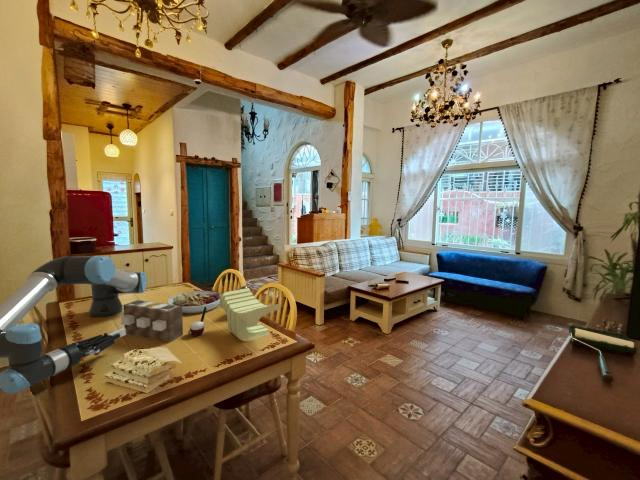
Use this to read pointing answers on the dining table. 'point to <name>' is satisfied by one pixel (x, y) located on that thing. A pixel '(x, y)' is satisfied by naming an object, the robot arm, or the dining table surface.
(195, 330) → the cocoa
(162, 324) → the button
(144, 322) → the middle button
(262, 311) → the slatted curved stool
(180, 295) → the bowl
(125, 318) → the button
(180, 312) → the button panel
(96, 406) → the dining table surface
